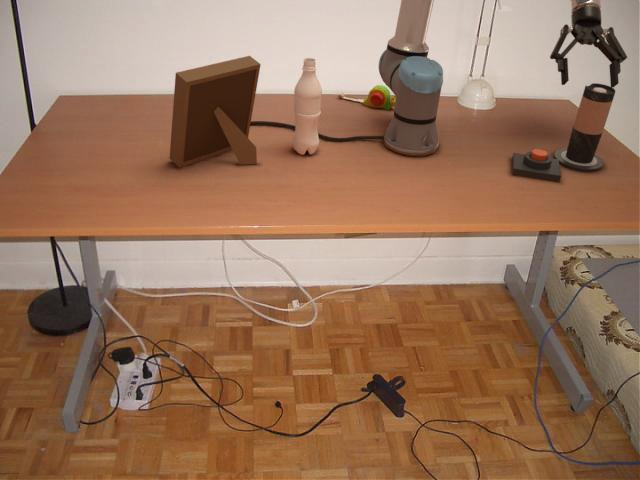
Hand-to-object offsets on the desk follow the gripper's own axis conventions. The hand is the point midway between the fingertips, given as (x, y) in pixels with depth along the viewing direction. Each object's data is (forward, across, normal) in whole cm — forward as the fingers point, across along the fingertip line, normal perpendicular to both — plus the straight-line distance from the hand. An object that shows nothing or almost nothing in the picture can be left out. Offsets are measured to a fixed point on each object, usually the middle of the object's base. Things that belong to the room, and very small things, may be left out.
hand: (589, 84), depth 172 cm
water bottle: (+19, +76, -9) cm, 79 cm away
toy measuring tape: (-6, +56, -35) cm, 66 cm away
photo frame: (+25, +97, -4) cm, 100 cm away
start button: (+21, +14, -3) cm, 25 cm away
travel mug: (+18, 0, -9) cm, 20 cm away
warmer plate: (+18, 0, -10) cm, 21 cm away
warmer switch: (+23, +14, -5) cm, 28 cm away
